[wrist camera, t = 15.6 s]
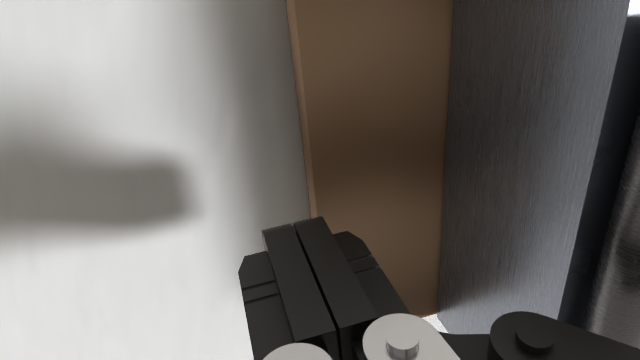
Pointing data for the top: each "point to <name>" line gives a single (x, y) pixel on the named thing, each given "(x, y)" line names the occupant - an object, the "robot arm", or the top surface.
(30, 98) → the top surface
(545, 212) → the box
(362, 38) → the vise base
